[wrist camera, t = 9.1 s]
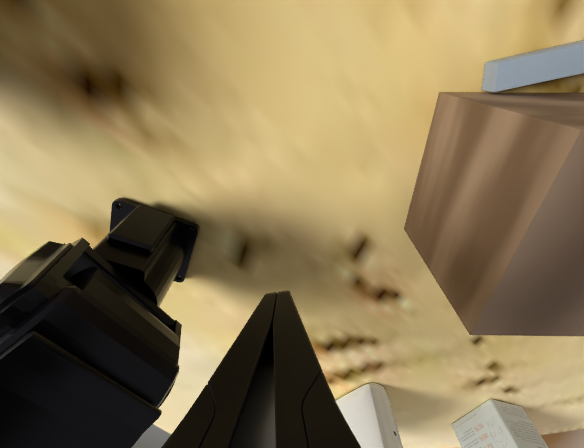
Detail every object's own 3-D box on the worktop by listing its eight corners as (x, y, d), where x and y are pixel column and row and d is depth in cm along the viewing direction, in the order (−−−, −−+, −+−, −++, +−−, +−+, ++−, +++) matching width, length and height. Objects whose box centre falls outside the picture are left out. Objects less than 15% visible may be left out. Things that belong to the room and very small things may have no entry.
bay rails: (457, 267, 24) (464, 277, 23) (485, 62, 16) (498, 62, 15) (581, 249, 23) (595, 258, 22) (682, 17, 15) (710, 14, 14)
